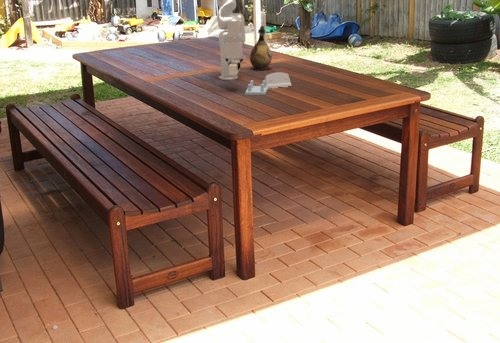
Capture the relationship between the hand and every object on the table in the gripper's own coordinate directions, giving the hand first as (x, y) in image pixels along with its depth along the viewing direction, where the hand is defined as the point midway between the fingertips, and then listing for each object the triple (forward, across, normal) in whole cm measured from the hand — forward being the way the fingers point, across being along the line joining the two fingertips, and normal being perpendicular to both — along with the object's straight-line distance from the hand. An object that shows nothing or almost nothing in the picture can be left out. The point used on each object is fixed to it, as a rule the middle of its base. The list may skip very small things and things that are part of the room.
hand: (234, 68), depth 429 cm
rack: (+13, +14, -4) cm, 20 cm away
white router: (+14, +26, +11) cm, 31 cm away
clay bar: (+2, 0, 0) cm, 2 cm away
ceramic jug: (+15, +8, +69) cm, 71 cm away
